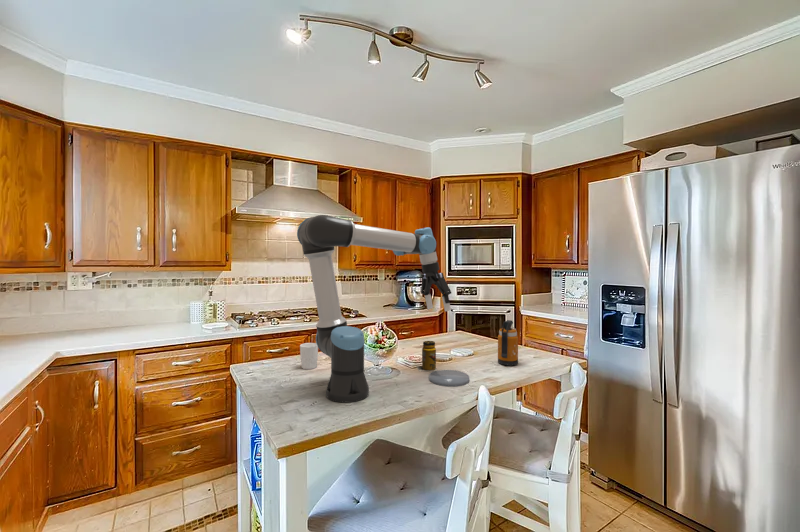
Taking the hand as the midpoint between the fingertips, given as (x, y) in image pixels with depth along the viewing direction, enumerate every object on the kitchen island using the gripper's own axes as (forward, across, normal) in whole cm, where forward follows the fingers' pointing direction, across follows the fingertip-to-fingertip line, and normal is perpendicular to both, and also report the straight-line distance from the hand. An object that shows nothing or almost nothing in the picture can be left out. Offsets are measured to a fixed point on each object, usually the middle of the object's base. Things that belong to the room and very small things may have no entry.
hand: (438, 309), depth 167 cm
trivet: (+25, -14, +11) cm, 31 cm away
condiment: (+24, +2, +11) cm, 27 cm away
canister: (+32, -9, -25) cm, 42 cm away
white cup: (+14, +29, +54) cm, 63 cm away
